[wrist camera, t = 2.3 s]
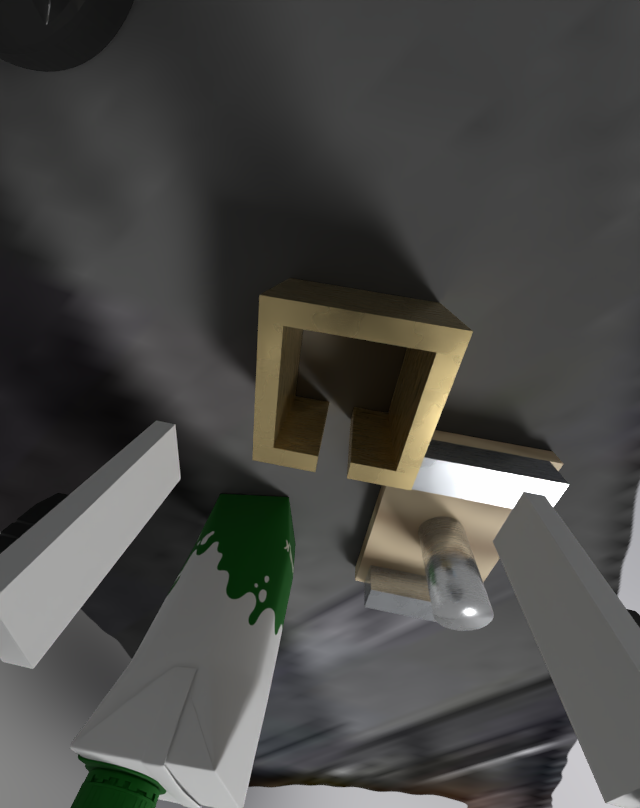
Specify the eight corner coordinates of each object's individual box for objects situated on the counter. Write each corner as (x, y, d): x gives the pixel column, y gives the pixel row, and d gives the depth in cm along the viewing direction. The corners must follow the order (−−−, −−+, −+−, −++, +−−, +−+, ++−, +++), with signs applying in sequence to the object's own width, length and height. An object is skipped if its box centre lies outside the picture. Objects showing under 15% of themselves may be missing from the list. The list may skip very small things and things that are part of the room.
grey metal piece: (416, 436, 23) (435, 506, 17) (549, 461, 23) (617, 542, 17) (364, 582, 33) (364, 661, 27) (459, 601, 32) (481, 686, 26)
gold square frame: (290, 277, 21) (259, 295, 15) (439, 303, 20) (472, 331, 14) (279, 406, 25) (252, 459, 19) (399, 428, 25) (411, 490, 19)
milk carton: (210, 485, 31) (10, 809, 13) (298, 490, 30) (205, 852, 12) (227, 544, 35) (91, 850, 18) (305, 550, 34) (244, 885, 16)
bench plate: (401, 423, 25) (403, 434, 24) (552, 451, 24) (563, 463, 23) (355, 567, 34) (355, 580, 33) (464, 589, 34) (468, 603, 32)
